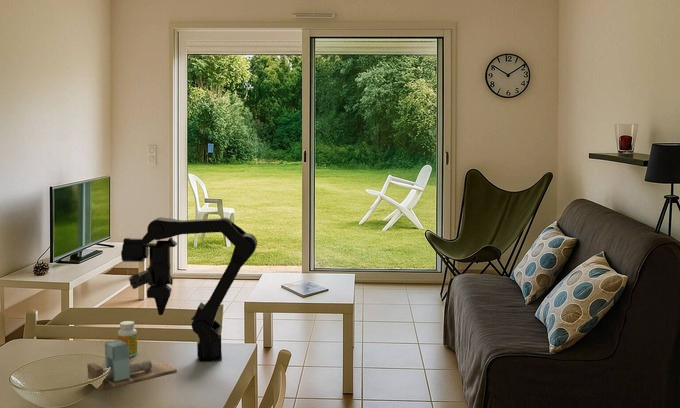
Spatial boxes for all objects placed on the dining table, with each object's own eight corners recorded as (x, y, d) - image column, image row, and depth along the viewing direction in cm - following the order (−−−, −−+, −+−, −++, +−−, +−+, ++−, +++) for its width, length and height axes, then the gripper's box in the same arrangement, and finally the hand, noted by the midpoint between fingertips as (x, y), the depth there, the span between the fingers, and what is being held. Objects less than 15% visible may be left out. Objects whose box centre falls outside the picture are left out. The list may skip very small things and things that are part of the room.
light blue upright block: (120, 371, 185) (119, 339, 184) (129, 378, 180) (128, 344, 179) (105, 375, 182) (104, 342, 181) (115, 381, 178) (114, 348, 177)
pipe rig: (163, 363, 194) (163, 346, 194) (176, 371, 188) (176, 353, 188) (86, 382, 180) (85, 362, 179) (98, 390, 174) (97, 371, 173)
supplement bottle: (131, 358, 199) (130, 325, 198) (114, 356, 200) (114, 324, 199) (140, 352, 204) (140, 320, 203) (124, 351, 205) (123, 319, 204)
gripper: (134, 256, 203) (135, 307, 205) (127, 269, 185) (128, 325, 187) (172, 255, 206) (173, 306, 207) (169, 268, 187) (170, 323, 189)
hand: (160, 314), depth 198 cm, fingers closed
